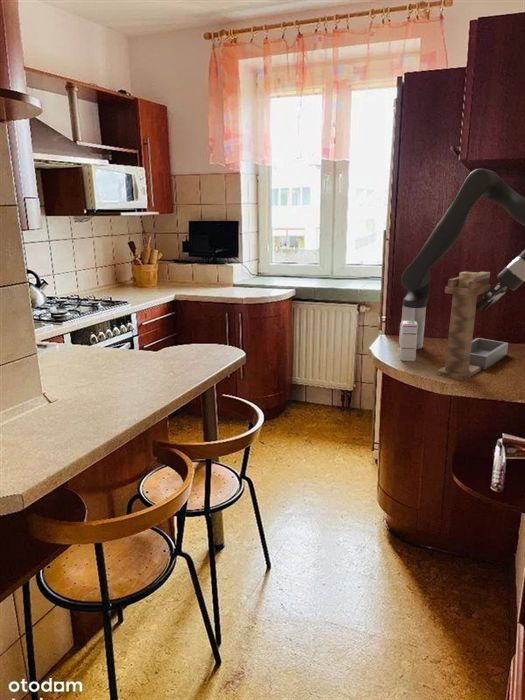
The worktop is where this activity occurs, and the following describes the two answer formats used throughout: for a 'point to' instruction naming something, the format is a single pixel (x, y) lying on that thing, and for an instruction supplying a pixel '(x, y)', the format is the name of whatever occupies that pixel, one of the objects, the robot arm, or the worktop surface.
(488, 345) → the tray
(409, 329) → the syrup box
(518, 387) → the worktop surface
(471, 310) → the stand
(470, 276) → the peg
